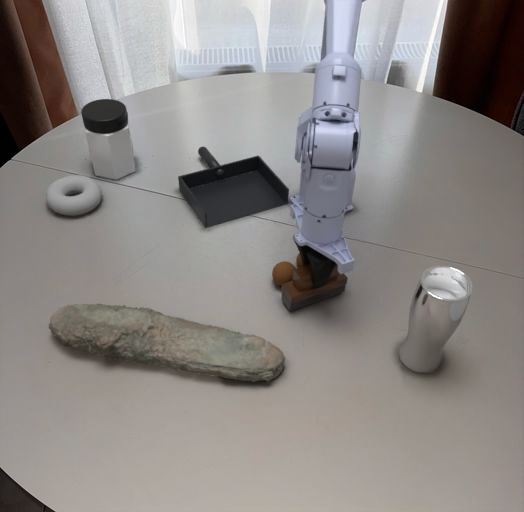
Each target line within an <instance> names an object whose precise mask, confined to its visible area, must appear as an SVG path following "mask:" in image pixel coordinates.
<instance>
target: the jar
mask: <svg viewBox="0 0 524 512" xmlns="http://www.w3.org/2000/svg"><path fill="white" fill-rule="evenodd" d="M80 114H81V119H82V122H83V126H84V132H85V138H86V141H87V142H86V143H87V145H88V150H89V156H90V158H91V163H92V168H93V171H94V176H95V177H101V178H105V179H109V180H110V179H111V180H115V181H117V180H120V179H122V178H125V177H126V176H129V175H131V174H134V173H135V172H136V171H137V169H136V163H135V156H134V155H135V151H134V145H133V140H132V134H131V131H130V126H129V113H128V109H127V106H126V105H125V104H124V103H123V102H121V101H119V100H117V99H113V98H101V99H95V100H91V101H89V102H87V103H86V104H85V105H83V106H82V107H81V112H80Z"/></svg>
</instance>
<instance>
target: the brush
mask: <svg viewBox="0 0 524 512" xmlns="http://www.w3.org/2000/svg"><path fill="white" fill-rule="evenodd" d="M295 268H296V269H294V271H293V281H290V282H287V283H284V284H282V286H281V301H282V302H283V304H284V305H285V307H286V308H287V310H288V311H289V312H291V311H294V310H297V309H300V308H302V307H305V306H308V305H311V304H314V303H316V302H320V301H322V300H325V299H328V298H330V297H333V296H335V295H339V294H342V293H344V292H345V290H346V286H347V284H348V276H347V275H346V273H343V274H340V273H339V272H338V270H337V269H338V265H337V266H336V267H335V268H334V270H333V271H332V273H331V275H330V277H329V279H328V281H327V283H326V284H324V285H321V286H318V287H314V285H313V283H312V267H311V264H308V265H305V266H302V267H299V268H298V267H295Z"/></svg>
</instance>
